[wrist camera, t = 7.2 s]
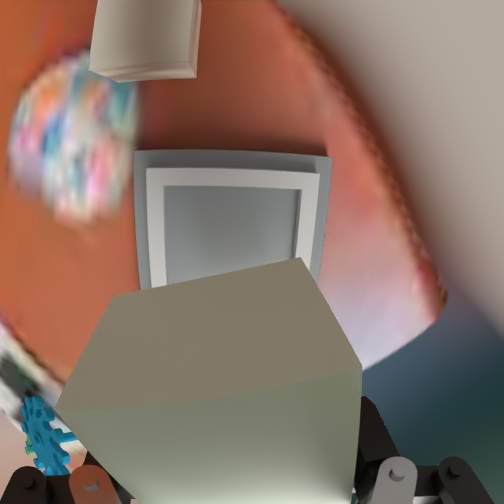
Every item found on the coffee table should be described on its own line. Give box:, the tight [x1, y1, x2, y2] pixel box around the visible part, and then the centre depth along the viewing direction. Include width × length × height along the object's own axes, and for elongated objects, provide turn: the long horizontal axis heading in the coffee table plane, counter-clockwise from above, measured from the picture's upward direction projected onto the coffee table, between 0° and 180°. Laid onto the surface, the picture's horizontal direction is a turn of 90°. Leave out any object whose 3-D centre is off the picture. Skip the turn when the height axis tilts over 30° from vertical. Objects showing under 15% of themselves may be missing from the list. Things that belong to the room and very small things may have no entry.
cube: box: [89, 0, 202, 83], centre depth 14 cm, size 5×5×5 cm
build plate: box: [134, 149, 333, 290], centre depth 21 cm, size 12×16×2 cm
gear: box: [21, 396, 78, 475], centre depth 25 cm, size 11×6×10 cm
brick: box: [54, 257, 362, 504], centre depth 9 cm, size 10×6×5 cm, turn 11°
